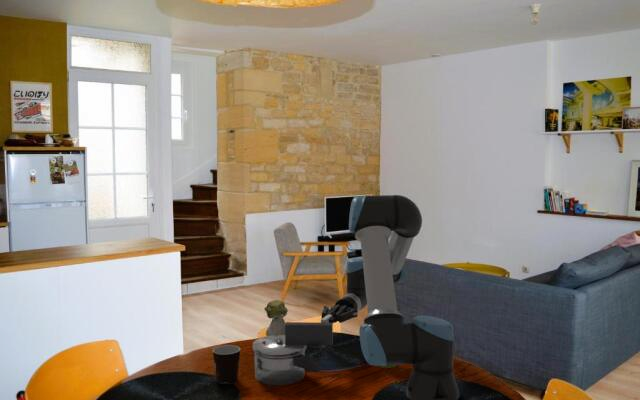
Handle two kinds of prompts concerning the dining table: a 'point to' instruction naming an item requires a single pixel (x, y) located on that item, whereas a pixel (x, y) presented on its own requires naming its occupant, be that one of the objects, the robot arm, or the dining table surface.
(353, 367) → the dining table surface
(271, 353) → the lid
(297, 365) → the pot
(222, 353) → the coffee mug
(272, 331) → the green sculpted bust
